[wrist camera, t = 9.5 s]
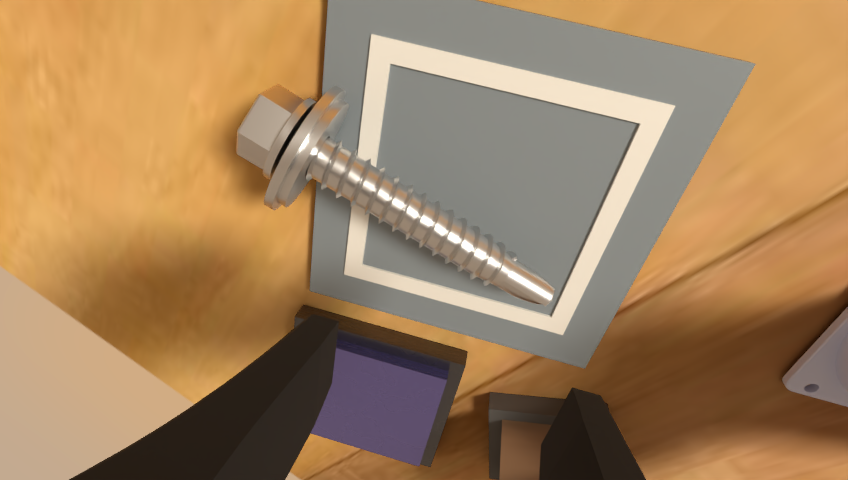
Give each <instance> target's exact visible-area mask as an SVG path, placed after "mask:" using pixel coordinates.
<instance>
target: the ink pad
mask: <svg viewBox="0 0 848 480" xmlns="http://www.w3.org/2000/svg"><path fill="white" fill-rule="evenodd" d="M312 314H315V315H318V316H322V317H325V318H329V319H332V320H336V321H339V325H338V334H337V343H336V352H335V361H334V370H333V379H332V384H331V387H330V389H329V392H328V394H327V397H326V399H325V401H324V404H323V406H322V409H321V411H320V413H319V416H318V418H317V421H316V423H315V425H314V427H313V429H312V431H311V434H315V435H318V436H321V437H324V438H328V439H331V440H334V441H337V442H341V443H344V444H347V445H350V446H354V447H357V448H360V449H364V450H367V451H370V452H373V453H377V454H380V455H383V456H386V457H390V458H393V459H396V460H399V461H403V462H406V463H409V464H413V465H416V466H420V464H421V465H425V466H428V467H431V464H432V461H433V458H434V455H435V452H436V449H437V446H438V443H439V441H440V438H441V435H442V432H443V429H444V426H445V423H446V420H447V417H448V415H449V412H450V409H451V406H452V403H453V400H454V397H455V394H456V391H457V389H458V386H459V383H460V380H461V377H462V374H463V371H464V368H465V365H466V358H467V351H464V350H460V349H457V348H453V347H450V346H446V345H443V344H439V343H436V342H432V341H429V340H425V339H422V338H418V337H415V336H411V335H408V334H404V333H401V332H397V331H394V330H390V329H387V328H383V327H380V326H376V325H373V324H369V323H366V322H362V321H359V320H355V319H352V318H348V317H345V316H341V315H338V314H334V313H331V312H327V311H324V310H320V309H316V308H313V307H309V306H306V305H303V306H302V307H301V309H300V310H299V312H298V313H297V314H296V316H295V325H294V328H295V327H297V326H298V325H299V324H300V323H301V322H302V321H303V320H305V319H306V318H307V317H308V316H310V315H312Z"/></svg>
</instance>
